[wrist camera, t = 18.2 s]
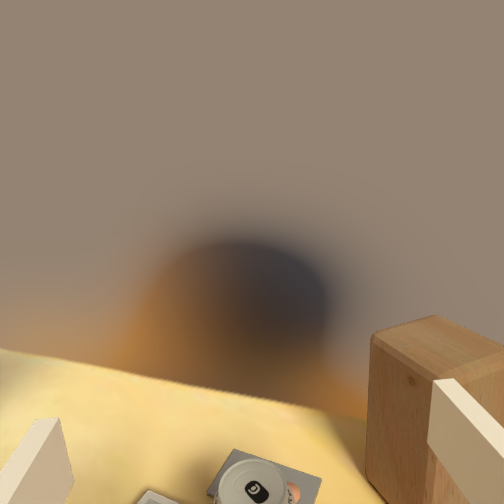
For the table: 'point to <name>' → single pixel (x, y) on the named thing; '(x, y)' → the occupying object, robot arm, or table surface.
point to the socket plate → (155, 499)
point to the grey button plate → (298, 481)
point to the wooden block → (423, 403)
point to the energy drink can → (253, 484)
